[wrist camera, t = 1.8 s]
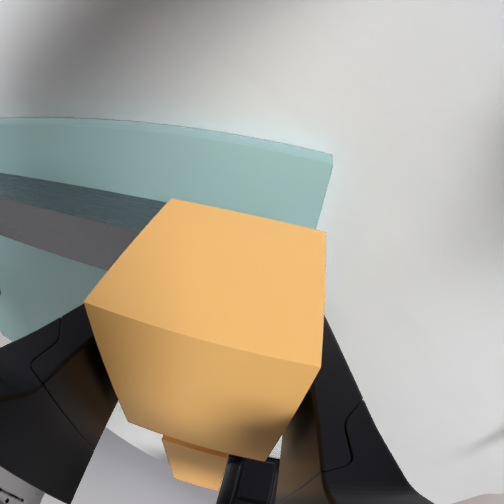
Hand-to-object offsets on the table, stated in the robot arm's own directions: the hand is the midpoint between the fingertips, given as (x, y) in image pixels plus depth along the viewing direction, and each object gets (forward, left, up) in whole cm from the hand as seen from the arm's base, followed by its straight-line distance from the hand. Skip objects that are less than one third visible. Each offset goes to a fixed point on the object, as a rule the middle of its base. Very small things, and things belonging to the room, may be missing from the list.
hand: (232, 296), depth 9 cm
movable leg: (-3, 0, -2) cm, 4 cm away
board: (-6, +10, -4) cm, 12 cm away
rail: (0, +10, -4) cm, 10 cm away
